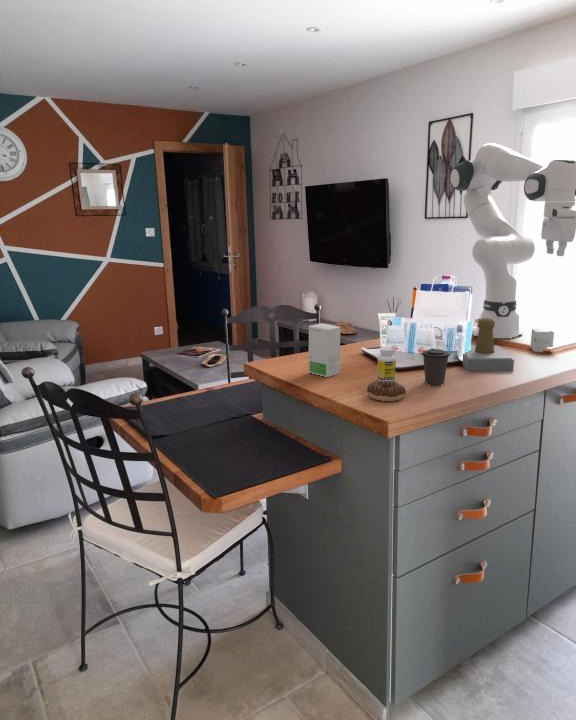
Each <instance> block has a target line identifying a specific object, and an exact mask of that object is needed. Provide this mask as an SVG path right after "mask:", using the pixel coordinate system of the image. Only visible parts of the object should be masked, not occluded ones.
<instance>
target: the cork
mask: <svg viewBox="0 0 576 720" xmlns="http://www.w3.org/2000/svg"><path fill="white" fill-rule="evenodd" d="M477 324H478V327H479V333H478V336H477V339H476V344H475V346H476V348H475V352H477V353H481V354H492V353H494V346H495V343H494V338H493V328H494V326H495V322H494V320H493V319H489V318H483V319H480V320H479V321H478V323H477Z"/></svg>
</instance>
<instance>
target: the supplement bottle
mask: <svg viewBox="0 0 576 720" xmlns="http://www.w3.org/2000/svg"><path fill="white" fill-rule="evenodd" d="M379 354H380V355H378V356H377V365H376V366H377V371H376V373H377V376H376V378H377V379H376V380H377V382H378V381H390V382H395V381H396V363H397V362H396V359H397V358H396V355H394V348H393V347H387V346H386V347H381V348H380V349H379Z"/></svg>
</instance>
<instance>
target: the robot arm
mask: <svg viewBox="0 0 576 720" xmlns="http://www.w3.org/2000/svg"><path fill="white" fill-rule="evenodd" d="M449 180H450V185H451V186H452V188H453V189H454V190H455V191H462V192H465V191H466V192H465V194H464V196H463V203H464V207H465V211H466V213H467V216H468V218H469V220H470V222H471V225H472V226H473V227H474V230H475V232H476V233H477V235H479V237H482V238H481V239H478V240H476V242H475V243H474V245H473V247H472V258H473V260H474V262H475V263H476V264H478V265H479V267H480V268H481V270H482V272H483V274H484V279H485V299H484V301H483V305H482V306H483V307H482V308H483V310H482V311H481V313H480V315H479V316H477V317H475V320H474V322H475V324H477V325H476V326H472V336H474V337H478V333H479V327H478V321H479V320H480V319H483V318H489V319H493V320H494V322H495V326H494V328H493V339H494V338H509V339H512V338H511V337H515V336H517V337H519V336H518V335H522V336H523V332H521V331H520V314H518V313H517V312H516V309H517V299H516V295H517V294H516V293H517V280H516V279H515V277H514V276H512V275H510V273H509V270H508V265H516V264H521V263H524V262H527V261H529V260H531V259H532V257H533V256H534V252H535V244H534V241H533V239H532V238H531V237H529V236H527V235H524V234H523V233H521V232H520V231H518V230H517V229H516V228H515V227H513V225H511V224H510V223H509V222H508V221H507V220H506V219H505V217H504V216H503V214H502V212H501V210H500V208H499V207H498V205H497V204H496V202H495V200H494V198H493V197H492V192H491V191H495V190H497V189H498V188H499V186H500V185H501V184H502V183H503V182H524V185H523V191H524V195H525V197H526V199H528V200H529V201H533V202H544V209H543V220H542V227H541V233H540V237H541V239H542V240H545V246H546V254H548V255H553V254H554V251H555V248H554V243H555V242H558V243H557V244H558V247H557V248H558V249H557V250H556V256H557V257H564V255H565V250H566V248H567V246H568V243H572V242H573V241H574V239H575V236H576V160H574V159H572V158H564V157H563V158H562V157H561V158H560V157H559V158H553V159H551V160H549V162H548V164H543V163H540V162H538V161H535V160H533V159H531V158H528V157H526V156H524V155H522V154H520V153H519V152H517V151H514V150H512V149H510V148H508V147H505V146H503V145H500V144H497V143H486V144H484V145H482V146H481V147H479V148H478V150H477V152H476V154H475V158H474V159H473V160H468V159H467V160H464V161H462V162H460V163H458V164H456V165H454V166H453V168H451V171H450V174H449ZM515 338H516V337H515Z"/></svg>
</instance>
